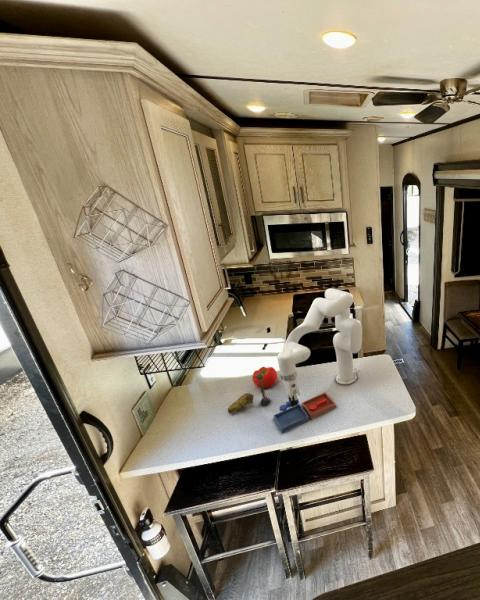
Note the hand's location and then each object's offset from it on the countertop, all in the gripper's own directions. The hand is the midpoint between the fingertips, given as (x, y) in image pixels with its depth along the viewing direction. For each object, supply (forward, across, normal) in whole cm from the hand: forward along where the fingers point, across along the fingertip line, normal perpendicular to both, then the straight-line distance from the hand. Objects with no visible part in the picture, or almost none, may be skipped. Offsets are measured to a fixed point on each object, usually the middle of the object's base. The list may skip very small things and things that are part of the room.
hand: (293, 403), depth 169 cm
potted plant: (+9, +22, +10) cm, 26 cm away
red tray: (+9, 0, -13) cm, 16 cm away
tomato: (+9, +38, +4) cm, 39 cm away
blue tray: (+9, 0, +2) cm, 10 cm away
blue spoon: (0, 0, +3) cm, 3 cm away
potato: (+10, +25, +20) cm, 34 cm away
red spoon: (+9, 0, -13) cm, 15 cm away
